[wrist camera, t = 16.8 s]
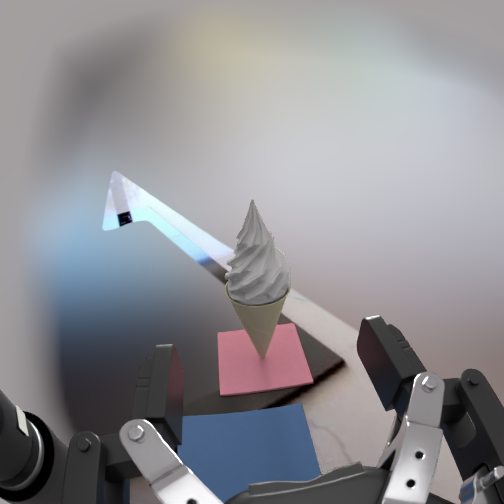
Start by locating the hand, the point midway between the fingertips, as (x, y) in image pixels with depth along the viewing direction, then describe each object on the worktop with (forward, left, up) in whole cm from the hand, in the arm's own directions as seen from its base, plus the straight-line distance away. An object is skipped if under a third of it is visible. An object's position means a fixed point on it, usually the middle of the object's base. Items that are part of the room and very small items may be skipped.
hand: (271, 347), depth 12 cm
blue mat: (-2, 0, -12) cm, 12 cm away
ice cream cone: (+1, +10, -12) cm, 16 cm away
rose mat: (0, +10, -12) cm, 16 cm away
